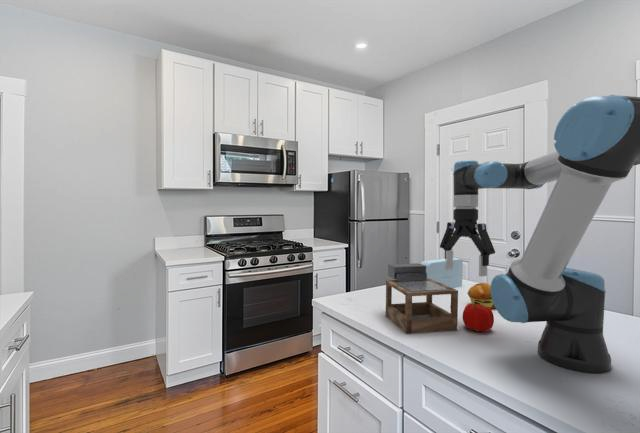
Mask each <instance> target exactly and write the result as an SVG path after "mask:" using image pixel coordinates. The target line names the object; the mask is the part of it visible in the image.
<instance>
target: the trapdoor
mask: <svg viewBox="0 0 640 433" xmlns="http://www.w3.org/2000/svg"><path fill="white" fill-rule="evenodd" d="M387 265H388V266H387V269H388V270H387V276H388V277H390V278H391V279H393V280H396V281H409V282H395V283H396V284H397V285H399V286H401V287H403V288H404V289H406V290H408V291H410V292H414V291H434V290H449V289H447V288H445V287H443V286H440V285H438V284H436V283H434V282H431V281H412V280H427V273H426V266H425V265H422V264H421V263H419V262H418V263H417V262H416V263H413V262H412V263H388V264H387Z"/></svg>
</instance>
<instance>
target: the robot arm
mask: <svg viewBox="0 0 640 433" xmlns="http://www.w3.org/2000/svg"><path fill="white" fill-rule="evenodd" d="M553 140H554V141H556V142H554V144H553V145H554V148H555V150H556V151H553V152H550V153H547V154H545V155H542V156H539V157H536V158H534V159H531V160H528V161H526V162H523V163H502V162H500V161H485V162H483V163H479V162H478V161H477V160H473V159H471V160H469V159H467V160H466V159H465V160H459V161H456V162H455V163H454V165H453V173H452V175H453V208H454V209H453V220H454V222H451V221H449V222H447V223H446V229H445V232H444V233H443V234H444V235H443V237H442V239H441V242H440V244H439V248H440V249H443V251H444V259H446V270H450V269H453V258H454V250H453V247H454V246H455V245H456V243H457V242H458V240H460V238H461V237H464V238H465V237H466V238H469V239H470V240H471V241H472V242H473V244H474V246H475V247H476V248H477V250H478V252H479V253H480V255H478V277H487V276H488V266H489V265H490V255H495V254H496V251H495V248H494V245H493V242H492V241H491V238H490V236H489V233H488V231H487V224H486V223H484V222H483V223H477V221H478V220H479V210H478V207H479V190H481V189H516V190H517V189H522V190H523V189H524V190H532V189H533V190H534V189H540V188H542V187H543V186H544V185H545V184H547V183H551V182H555V181H556V183H555V184H554V187H553V189H552V191H551V193H550V195H549V198H548V200H547V202H546V204H545V206H544V208H543V211H542V212H541V216H540V217H539V220H538V221H537V224H536V226H535V228H534V230H533V232H532V235H531V237H530V239H529V242H528V243H527V246H526V248H525V250H524V253H523V255H522V257H521V258H519V259H515V260H514V261H513V260H512V262H511V263H510V267H509V268H508V271H507V273H505V274H504V273H499V274H498V275H495V276H494V277H493V278H492V280H491V282H490V283H491V284H490V285H491V297H492V300H493V303H494V306H495V308H494V309H495V310H496V311H497V313H498V314H499V315H500V316H501V317H502V318H503V319H504V320H506V321H507V322H511V323H522V324H525V323H537V322H546V323H545V327H544V329H543V332H542V334H541V337H540V339H539V340H538V343H537V353H538V355H539V356H540V357H542V358H543V359H544V360H545V361H548V362H549V363H552V364H554V365H556V366H559V367H561V368H565V369H568V370H572V371H577V372H583V373H589V374H590V373H591V374H592V373H593V374H597V373H598V374H602V373H607V372H608V371H611V369H612V357H611V355H610V353H609V349H608V346H607V344H606V340H605V337H604V320H605V319H604V318H605V303H606V302H605V301H606V299H605V298H606V293H607V292H606V289H605V279H604V278H603V276H601V275H600V274H597V273H594V272H592V271H591V272H590V271H585V270H580V269H575V268H569V267H567V266H568V264H569V263H570V261H571V259H572V258H573V255H574V254H575V252H576V250H577V248H578V246H579V244H580V242H581V240H582V239H583V237H584V235H585V233H586V231H587V229H588V228H589V226H590V224H591V222H592V220H593V218H594V216H595V215H596V213H597V211H598V210H599V208H600V206H601V204H602V202H603V201H604V199H605V197H606V195H607V193H608V191H609V190H610V187H611V186H612V184H613V183H615V182H619V181H622V180H625V179H626V178H627V177H628V175H629V173H630V172H631V170H632V168H633V167H634V166H637V165H640V96H630V95H617V94H616V95H615V94H609V95H596V96H595V95H594V96H590V97H586V98H583V99H582V100H581V101H578V102H577V103H575V104H573V105H572V106H571V107H569V109H567V110H566V111H565V113H563V115H562V116H561V118H560V120H559V121H558V123H557V125H556V128H555V131H554V135H553Z"/></svg>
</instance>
